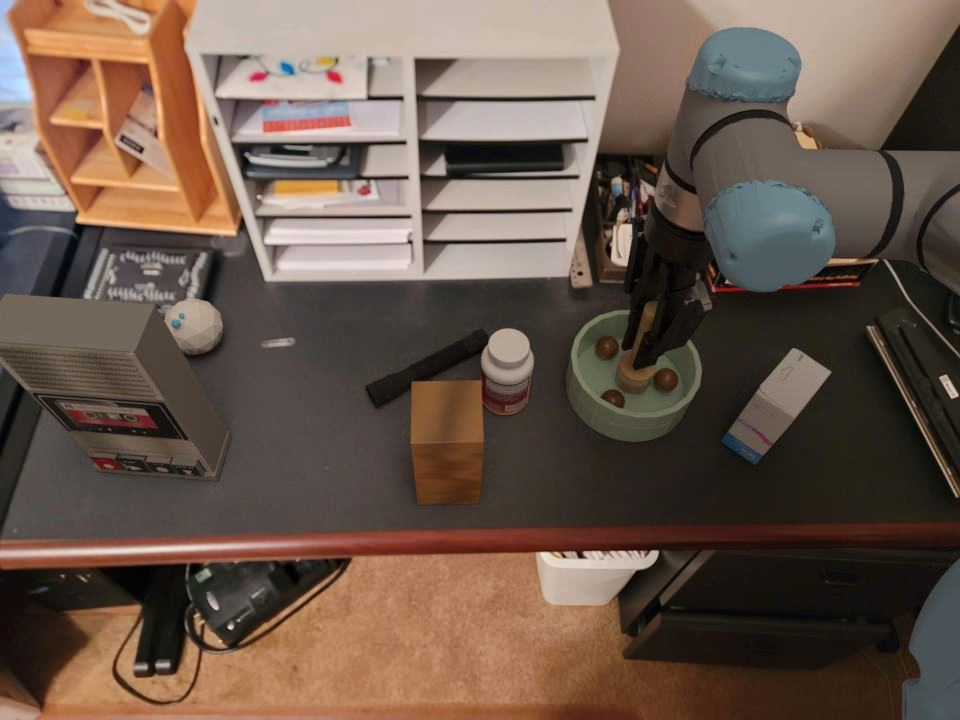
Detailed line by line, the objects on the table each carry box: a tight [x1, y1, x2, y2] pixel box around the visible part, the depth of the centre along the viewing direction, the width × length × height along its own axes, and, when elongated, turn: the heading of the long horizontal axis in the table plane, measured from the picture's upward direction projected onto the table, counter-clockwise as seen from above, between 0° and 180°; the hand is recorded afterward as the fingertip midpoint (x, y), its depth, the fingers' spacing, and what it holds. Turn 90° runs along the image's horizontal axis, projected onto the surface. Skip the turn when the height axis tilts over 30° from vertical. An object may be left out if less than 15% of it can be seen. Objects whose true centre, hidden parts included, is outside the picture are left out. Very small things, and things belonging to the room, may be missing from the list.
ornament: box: [163, 297, 224, 356], centre depth 87 cm, size 7×7×8 cm
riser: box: [409, 379, 485, 506], centre depth 74 cm, size 7×7×15 cm
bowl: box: [564, 309, 703, 443], centre depth 85 cm, size 15×15×6 cm
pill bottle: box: [479, 327, 535, 416], centre depth 82 cm, size 6×6×11 cm
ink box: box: [720, 347, 832, 466], centre depth 80 cm, size 9×5×12 cm, turn 137°
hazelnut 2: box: [600, 389, 625, 409], centre depth 84 cm, size 3×3×3 cm
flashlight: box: [364, 328, 490, 408], centre depth 87 cm, size 3×16×3 cm, turn 123°
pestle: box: [616, 301, 658, 393], centre depth 81 cm, size 4×4×14 cm
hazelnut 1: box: [595, 336, 619, 359], centre depth 88 cm, size 3×3×3 cm
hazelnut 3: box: [653, 368, 678, 392], centre depth 86 cm, size 3×3×3 cm
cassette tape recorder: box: [0, 293, 233, 482], centre depth 71 cm, size 14×6×25 cm, turn 86°
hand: (638, 355), depth 82 cm, fingers closed on pestle, 2 cm apart
